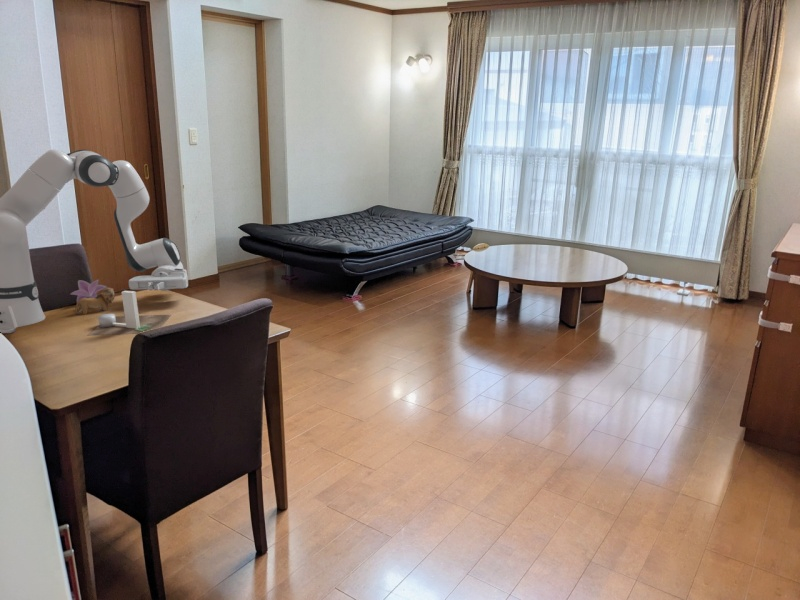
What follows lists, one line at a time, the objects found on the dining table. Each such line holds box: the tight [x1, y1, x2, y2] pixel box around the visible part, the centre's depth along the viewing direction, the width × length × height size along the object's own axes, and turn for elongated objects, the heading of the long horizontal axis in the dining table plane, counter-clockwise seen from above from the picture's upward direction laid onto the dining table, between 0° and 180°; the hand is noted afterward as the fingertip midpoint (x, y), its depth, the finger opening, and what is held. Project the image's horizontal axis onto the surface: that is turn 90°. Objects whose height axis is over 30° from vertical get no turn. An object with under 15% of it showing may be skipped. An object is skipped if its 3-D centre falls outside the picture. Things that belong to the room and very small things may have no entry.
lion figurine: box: [74, 287, 116, 316], centre depth 211 cm, size 15×5×9 cm, turn 133°
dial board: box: [86, 314, 172, 336], centre depth 197 cm, size 21×19×2 cm
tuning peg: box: [97, 290, 140, 329], centre depth 194 cm, size 14×5×12 cm, turn 74°
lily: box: [70, 279, 108, 303], centre depth 226 cm, size 12×12×10 cm
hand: (153, 287), depth 212 cm, fingers closed
